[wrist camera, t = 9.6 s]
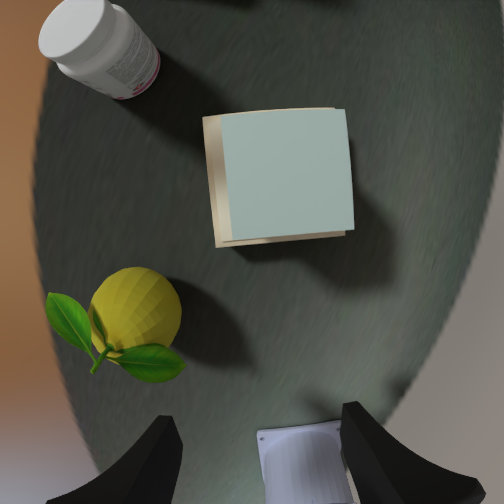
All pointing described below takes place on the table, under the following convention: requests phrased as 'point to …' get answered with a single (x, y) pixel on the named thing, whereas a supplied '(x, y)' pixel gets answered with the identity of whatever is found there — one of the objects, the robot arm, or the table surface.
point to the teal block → (287, 172)
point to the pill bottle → (100, 47)
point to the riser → (221, 193)
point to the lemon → (125, 323)
